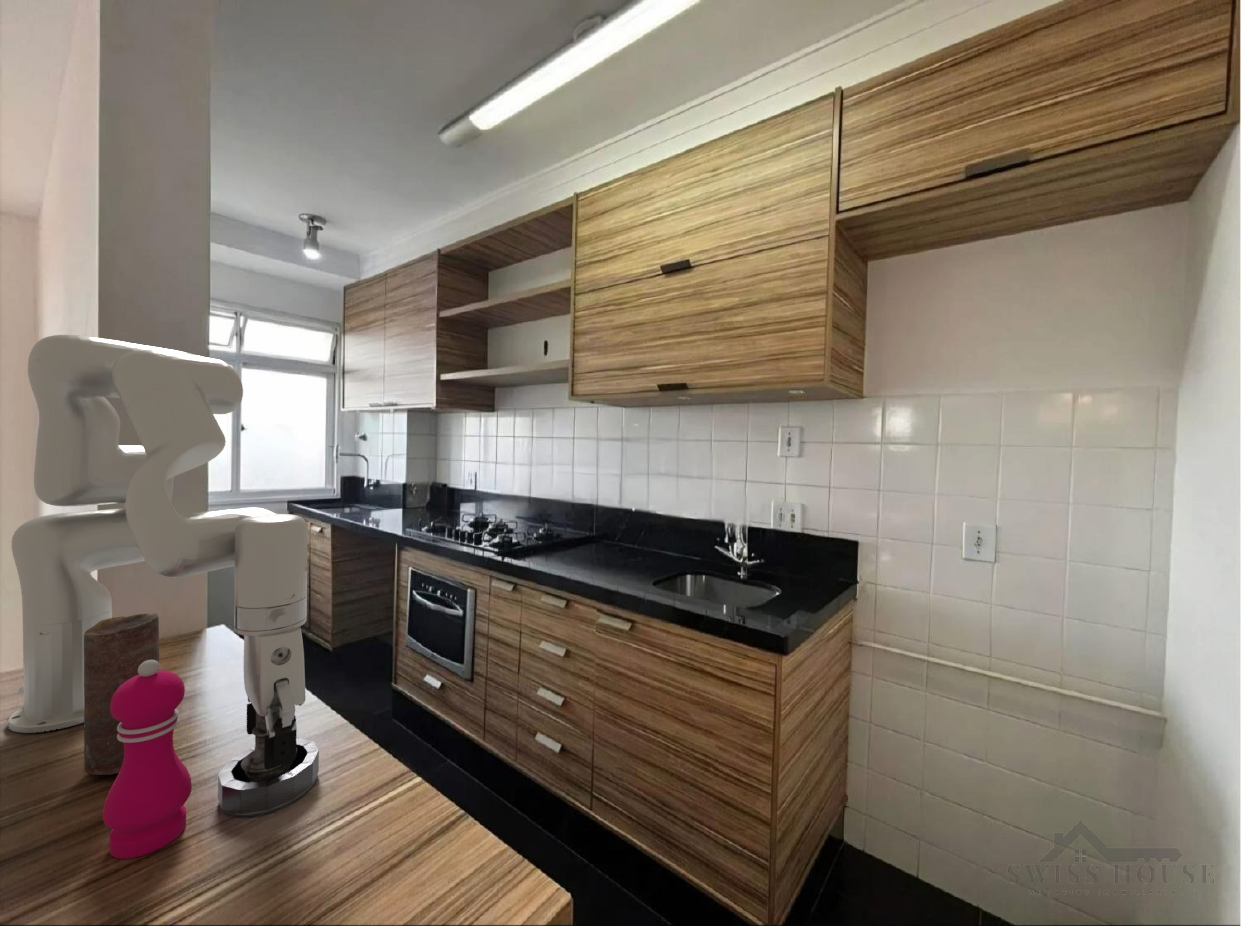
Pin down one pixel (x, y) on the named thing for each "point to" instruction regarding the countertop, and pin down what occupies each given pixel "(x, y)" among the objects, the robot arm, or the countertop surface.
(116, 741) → the candle
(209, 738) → the countertop surface
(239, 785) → the dark gray faceted bowl
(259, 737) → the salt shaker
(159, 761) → the pepper mill
